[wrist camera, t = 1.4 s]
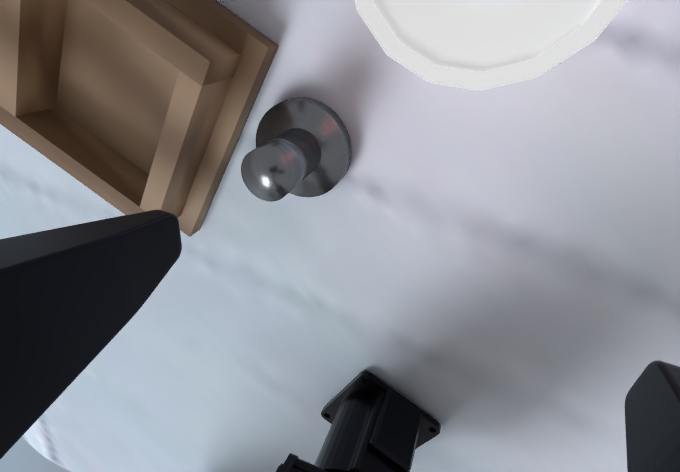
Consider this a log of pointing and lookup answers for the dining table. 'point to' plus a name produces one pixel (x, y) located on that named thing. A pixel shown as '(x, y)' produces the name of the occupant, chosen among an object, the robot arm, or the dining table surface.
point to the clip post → (297, 151)
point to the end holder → (132, 94)
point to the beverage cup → (484, 36)
